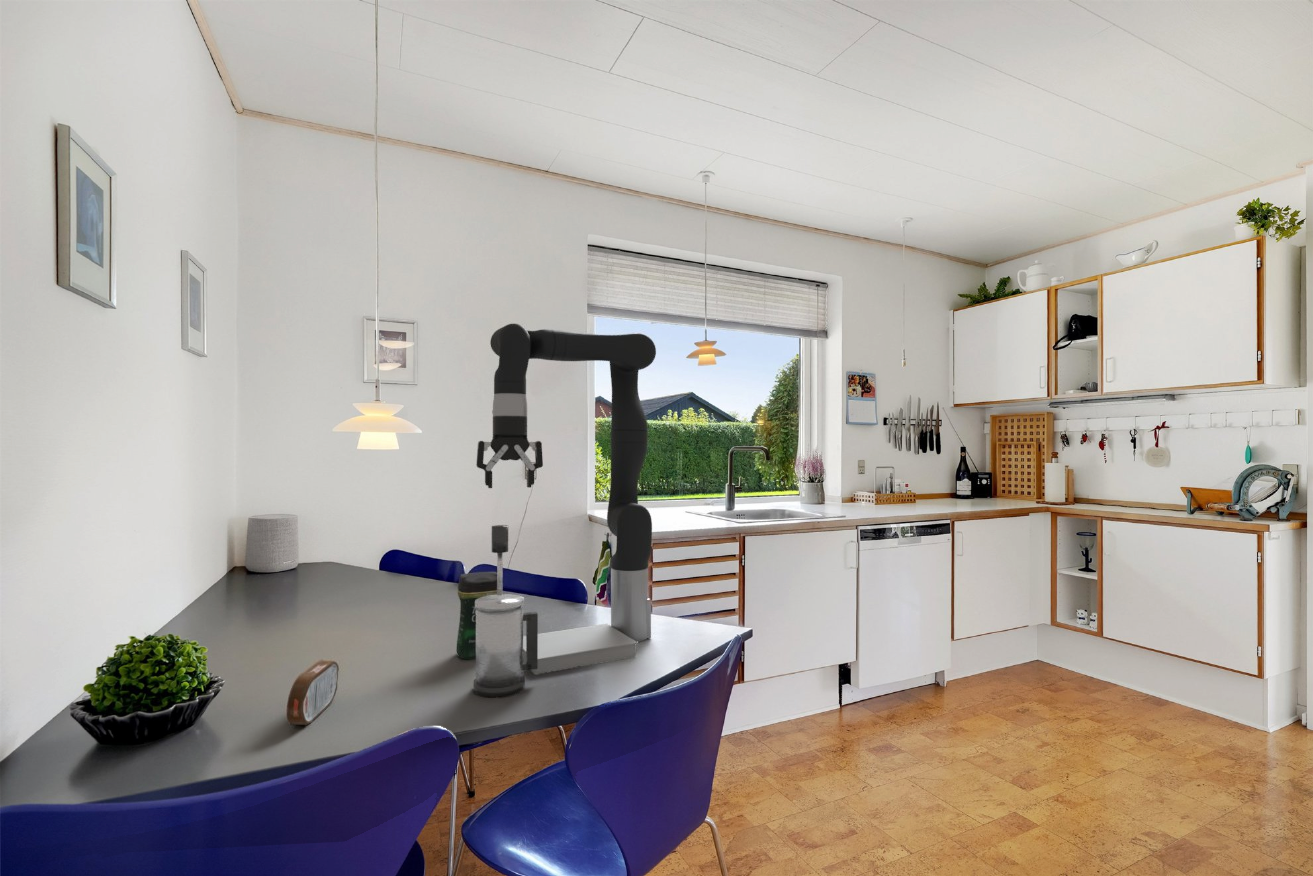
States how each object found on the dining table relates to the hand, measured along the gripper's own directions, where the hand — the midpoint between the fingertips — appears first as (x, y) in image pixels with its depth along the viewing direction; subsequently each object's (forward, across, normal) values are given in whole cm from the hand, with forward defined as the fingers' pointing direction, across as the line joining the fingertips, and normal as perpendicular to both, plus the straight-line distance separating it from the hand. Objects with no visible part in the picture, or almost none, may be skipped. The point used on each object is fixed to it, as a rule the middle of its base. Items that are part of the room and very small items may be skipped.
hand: (509, 487), depth 141 cm
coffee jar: (+38, -6, +6) cm, 39 cm away
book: (+39, +14, -1) cm, 41 cm away
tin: (+38, -36, -17) cm, 55 cm away
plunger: (+20, -4, -16) cm, 26 cm away
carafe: (+38, -3, -16) cm, 41 cm away
